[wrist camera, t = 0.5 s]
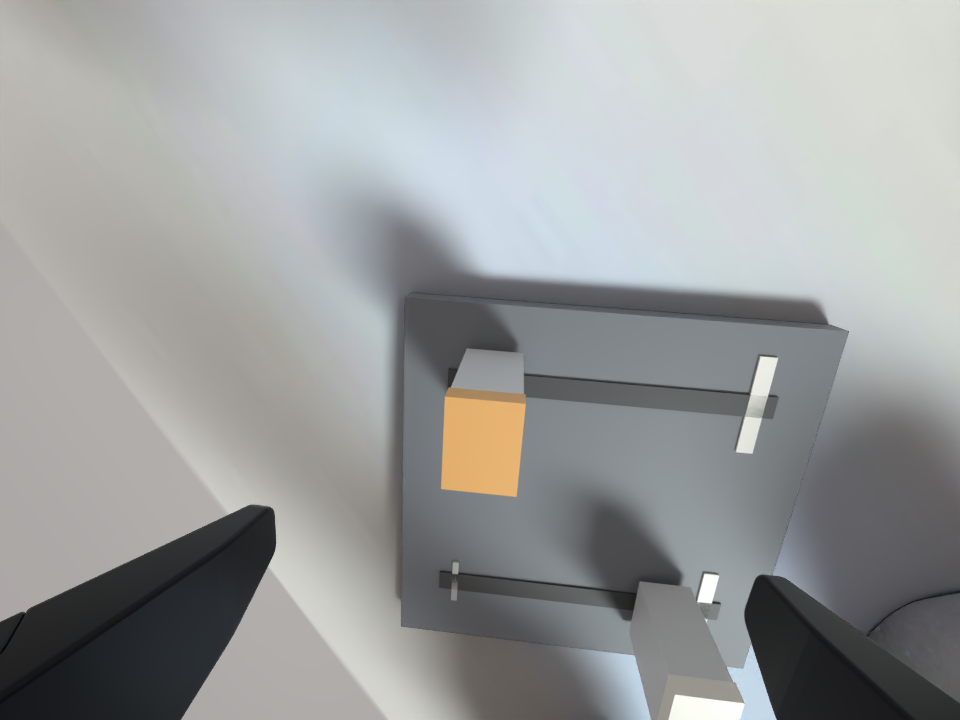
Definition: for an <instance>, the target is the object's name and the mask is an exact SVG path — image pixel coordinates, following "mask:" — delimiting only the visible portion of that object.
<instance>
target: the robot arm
mask: <svg viewBox="0 0 960 720" xmlns="http://www.w3.org/2000/svg"><path fill="white" fill-rule="evenodd" d="M275 548H276V529H275V514H274V510H273V509H272V508H271V507H268V506H261V505H249V506H246V507H244V508H242V509H240V510H238V511H236V512H234V513H231V514H229V515H227V516H225V517H223V518H221V519H219V520H217V521H214V522H212V523H210V524H208V525H206V526H204V527H202V528H199V529H197V530H195V531H193V532H191V533H189V534H187V535H185V536H183V537H180V538H178V539H176V540H174V541H172V542H170V543H168V544H166V545H163V546H161V547H159V548H157V549H155V550H153V551H151V552H148V553H146V554H144V555H142V556H140V557H138V558H136V559H133V560H131V561H129V562H127V563H125V564H123V565H121V566H118V567H116V568H114V569H112V570H110V571H108V572H106V573H104V574H101V575H99V576H97V577H95V578H93V579H91V580H89V581H86V582H84V583H82V584H80V585H78V586H76V587H74V588H72V589H69V590H67V591H65V592H63V593H61V594H59V595H57V596H55V597H53V598H50V599H48V600H46V601H44V602H42V603H40V604H37V605H36V606H33V607H31V608H29V609H28V610H27V612H26V613H25V612H20V613H18V614H16V615H14V616H12V617H10V618H7V619H6V620H3V621H1V622H0V720H181V719H182V717H183V716H184V714H185V712H186V711H187V709H188V707H189V706H190V704H191V703H192V701H193V699H194V698H195V696H196V695H197V693H198V691H199V690H200V688H201V687H202V685H203V683H204V682H205V680H206V678H207V677H208V675H209V674H210V672H211V671H212V669H213V667H214V666H215V664H216V662H217V661H218V659H219V658H220V656H221V654H222V652H223V651H224V650H225V648H226V646H227V645H228V643H229V641H230V640H231V638H232V636H233V635H234V633H235V631H236V629H237V627H238V625H239V623H240V621H241V619H242V617H243V615H244V613H245V611H246V609H247V607H248V605H249V603H250V601H251V599H252V597H253V595H254V593H255V591H256V589H257V587H258V585H259V583H260V581H261V579H262V577H263V575H264V573H265V571H266V569H267V567H268V565H269V563H270V561H271V559H272V557H273V555H274V552H275ZM744 619H745V624H746V628H747V631H748V634H749V637H750V640H751V643H752V646H753V649H754V653H755V656H756V659H757V662H758V665H759V668H760V671H761V674H762V678H763V681H764V684H765V687H766V690H767V693H768V696H769V699H770V702H771V705H772V708H773V711H774V714H775V717H776V719H777V720H960V703H959V702H958V701H956V700H955V699H954V698H952V697H951V696H949V695H948V694H947V693H945V692H944V691H942V690H941V689H940V688H938V687H937V686H935V685H934V684H933V683H931V682H930V681H928V680H927V679H926V678H924V677H923V676H921V675H920V674H919V673H917V672H916V671H914V670H913V669H912V668H910V667H909V666H907V665H906V664H905V663H903V662H902V661H900V660H899V659H898V658H896V657H895V656H893V655H892V654H891V653H889V652H888V651H886V650H885V649H884V648H882V647H881V646H879V645H878V644H877V643H875V642H874V641H872V640H871V639H870V638H868V637H867V636H865V635H864V634H863V633H861V632H860V631H858V630H857V629H856V628H854V627H853V626H851V625H850V624H849V623H847V622H846V621H844V620H843V619H842V618H840V617H839V616H837V615H836V614H835V613H833V612H832V611H830V610H829V609H828V608H826V607H825V606H823V605H822V604H821V603H819V602H818V601H816V600H815V599H814V598H812V597H811V596H809V595H808V594H807V593H805V592H804V591H802V590H801V589H800V588H798V587H797V586H795V585H794V584H793V583H791V582H790V581H788V580H787V579H785V578H783V577H779V576H772V575H765V574H761V575H758V576H757V577H756V578H755V580H754V583H753V586H752V589H751V592H750V595H749V597H748V600H747V603H746V606H745V610H744Z"/></svg>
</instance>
